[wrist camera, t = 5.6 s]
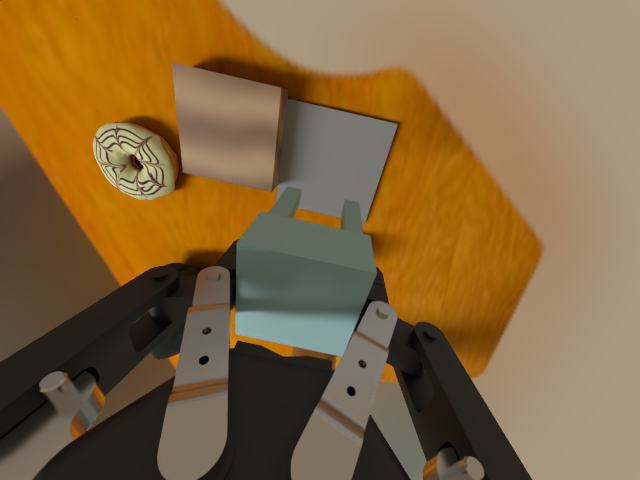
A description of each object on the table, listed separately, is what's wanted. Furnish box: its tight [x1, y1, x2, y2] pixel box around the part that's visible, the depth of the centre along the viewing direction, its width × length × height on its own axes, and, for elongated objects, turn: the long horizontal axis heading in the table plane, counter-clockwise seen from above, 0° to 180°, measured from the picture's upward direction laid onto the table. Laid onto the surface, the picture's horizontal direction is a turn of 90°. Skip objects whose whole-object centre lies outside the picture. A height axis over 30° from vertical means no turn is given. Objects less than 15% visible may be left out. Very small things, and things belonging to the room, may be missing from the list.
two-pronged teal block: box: [235, 186, 377, 357], centre depth 14 cm, size 6×6×8 cm
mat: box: [276, 99, 398, 223], centre depth 33 cm, size 14×14×1 cm
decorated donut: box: [93, 122, 179, 200], centre depth 34 cm, size 10×11×4 cm
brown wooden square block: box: [171, 62, 289, 192], centre depth 30 cm, size 12×12×4 cm
